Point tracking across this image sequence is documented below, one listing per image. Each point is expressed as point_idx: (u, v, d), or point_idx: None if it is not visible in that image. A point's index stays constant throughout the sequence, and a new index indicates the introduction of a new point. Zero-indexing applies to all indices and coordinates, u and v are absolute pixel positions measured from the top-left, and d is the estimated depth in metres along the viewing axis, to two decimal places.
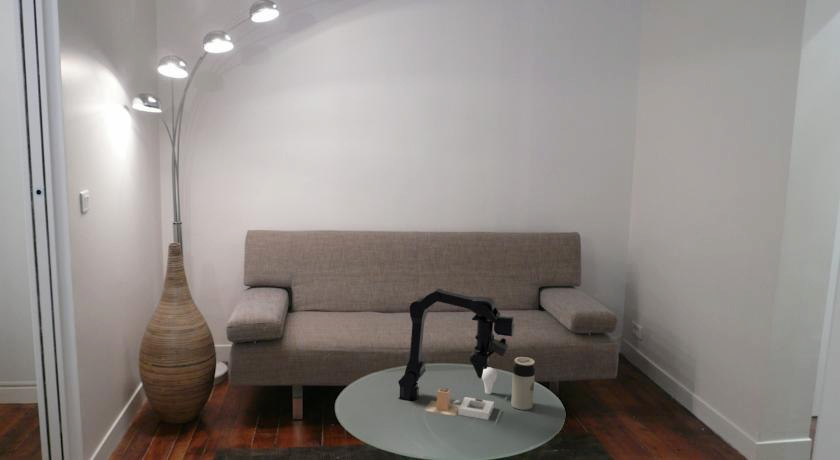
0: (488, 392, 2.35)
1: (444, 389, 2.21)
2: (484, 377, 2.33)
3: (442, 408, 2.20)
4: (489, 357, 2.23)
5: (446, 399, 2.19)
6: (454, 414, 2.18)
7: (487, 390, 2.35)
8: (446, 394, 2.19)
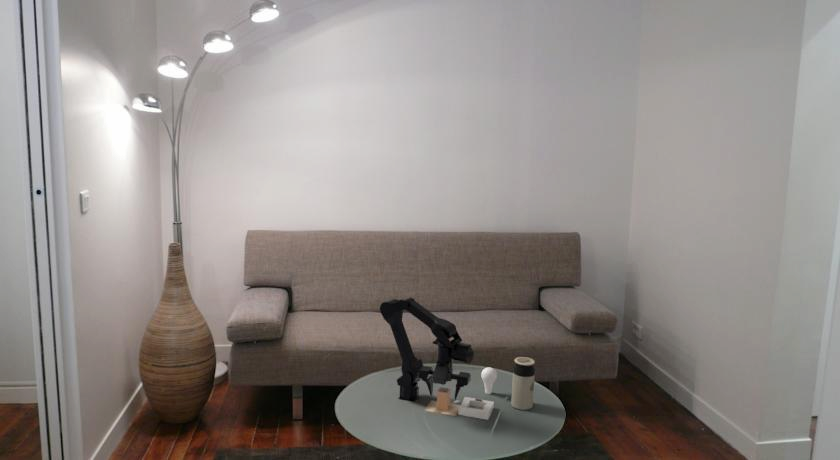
0: (488, 392, 2.35)
1: (444, 389, 2.21)
2: (484, 377, 2.33)
3: (442, 408, 2.20)
4: None
5: (446, 399, 2.19)
6: (454, 414, 2.18)
7: (487, 390, 2.35)
8: (446, 394, 2.19)
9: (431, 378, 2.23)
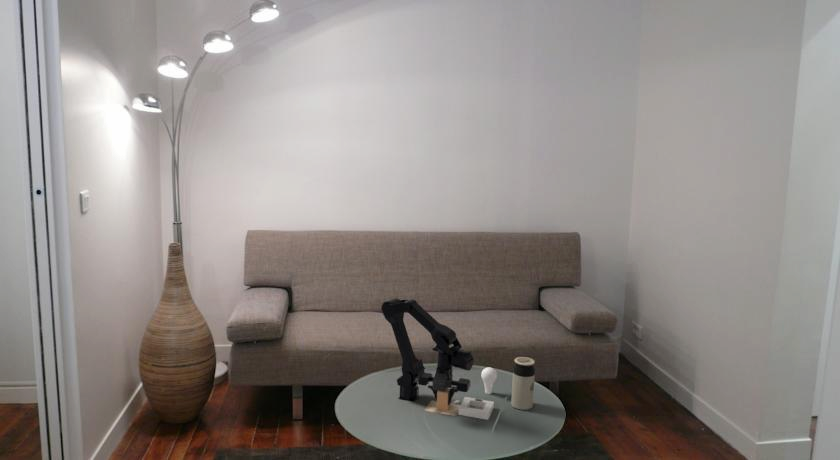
0: (488, 392, 2.35)
1: None
2: (484, 377, 2.33)
3: (442, 408, 2.20)
4: (449, 394, 2.20)
5: (446, 399, 2.19)
6: (454, 414, 2.18)
7: (487, 390, 2.35)
8: (446, 394, 2.19)
9: None
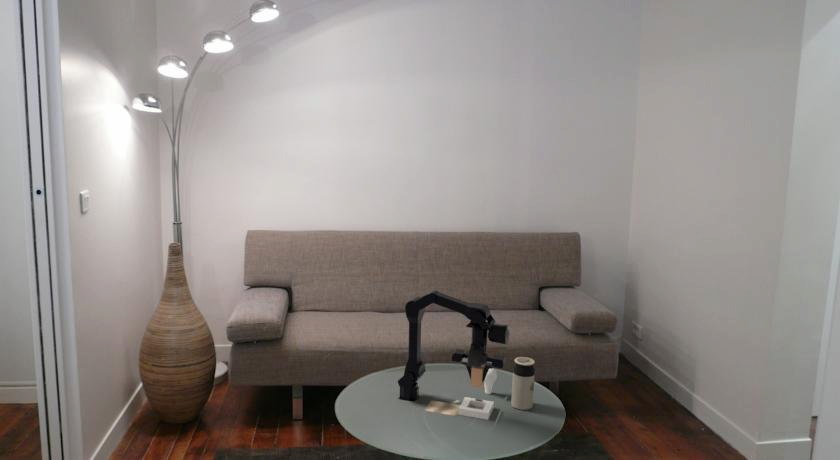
0: (488, 392, 2.35)
1: None
2: None
3: (476, 385, 2.17)
4: None
5: (480, 375, 2.16)
6: (454, 414, 2.18)
7: (487, 390, 2.35)
8: (480, 370, 2.16)
9: None
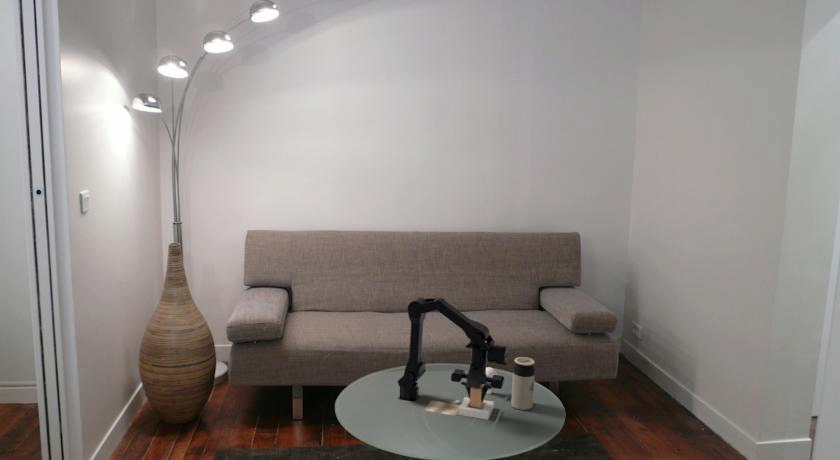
0: (488, 392, 2.35)
1: None
2: None
3: (475, 405, 2.18)
4: None
5: (479, 396, 2.17)
6: (454, 414, 2.18)
7: None
8: (480, 391, 2.17)
9: None
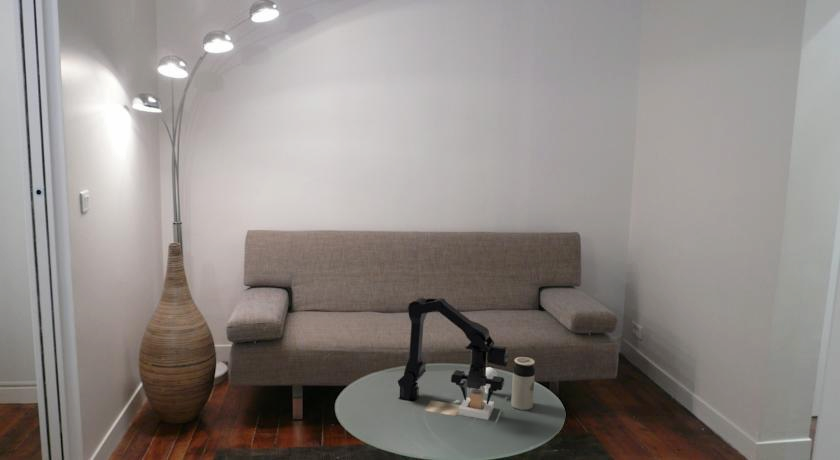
0: None
1: (477, 391, 2.19)
2: None
3: None
4: (488, 393, 2.17)
5: (479, 401, 2.18)
6: (454, 414, 2.18)
7: (487, 390, 2.35)
8: (479, 396, 2.17)
9: (465, 383, 2.21)
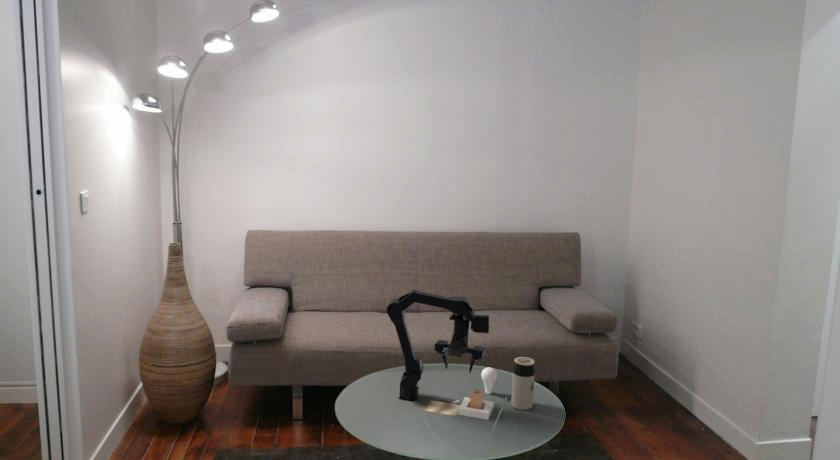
0: (488, 392, 2.35)
1: (477, 391, 2.19)
2: (484, 377, 2.33)
3: None
4: None
5: (479, 401, 2.18)
6: (454, 414, 2.18)
7: (487, 390, 2.35)
8: (479, 396, 2.17)
9: (447, 352, 2.28)
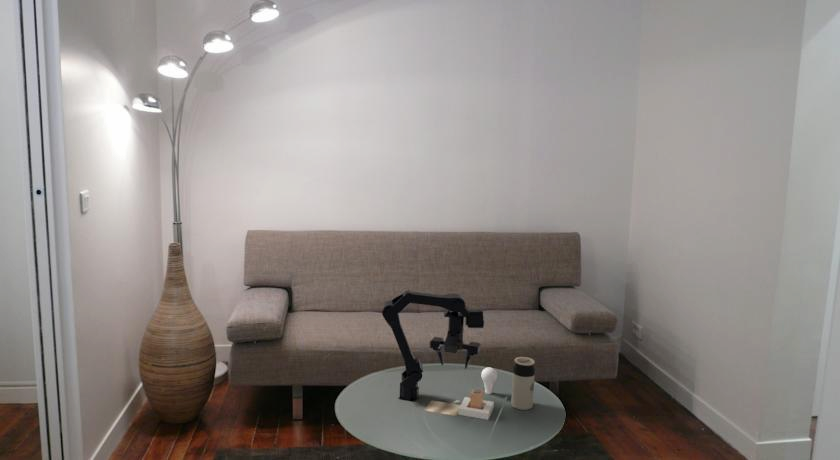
0: (488, 392, 2.35)
1: (477, 391, 2.19)
2: (484, 377, 2.33)
3: None
4: (466, 358, 2.26)
5: (479, 401, 2.18)
6: (454, 414, 2.18)
7: (487, 390, 2.35)
8: (479, 396, 2.17)
9: (442, 348, 2.31)
